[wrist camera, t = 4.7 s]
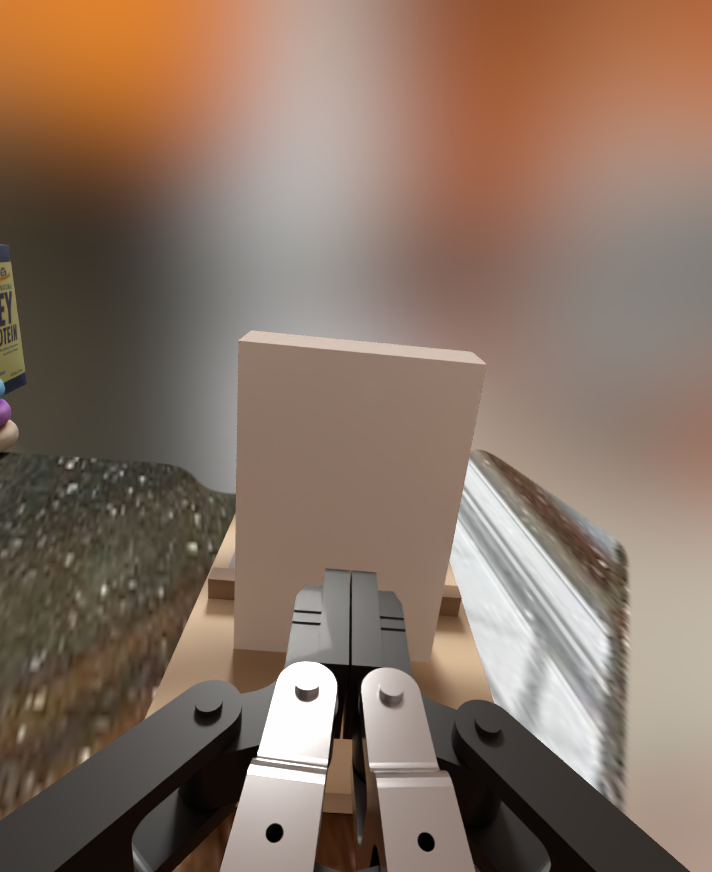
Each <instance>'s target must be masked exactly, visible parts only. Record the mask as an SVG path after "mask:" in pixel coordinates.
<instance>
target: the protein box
mask: <svg viewBox="0 0 712 872" xmlns="http://www.w3.org/2000/svg"><path fill="white" fill-rule="evenodd" d="M0 379H1V380H2V381H3V383H4V386H5V392H4V395H5V394H7V393H9V392H11V391H13V390H15V389H17V388H19V387H21V386H23V385H25V384H26V383H27V382H26V375H25V367H24V359H23V353H22V344H21V336H20V329H19V322H18V314H17V306H16V298H15V291H14V284H13V276H12V268H11V261H10V253H9V245H4V244H0Z"/></svg>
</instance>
